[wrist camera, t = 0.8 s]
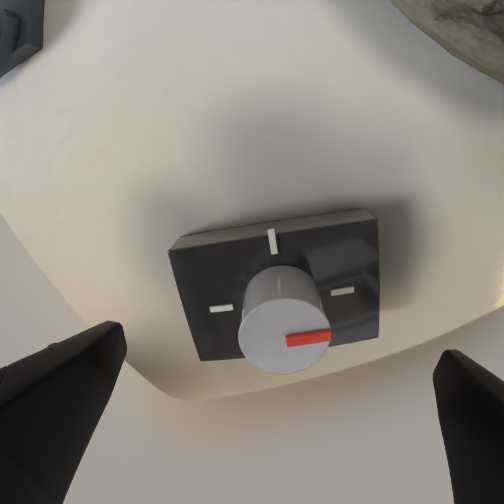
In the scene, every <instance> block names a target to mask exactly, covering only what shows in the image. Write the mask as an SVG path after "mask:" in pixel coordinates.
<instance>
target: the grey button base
mask: <svg viewBox="0 0 504 504" xmlns="http://www.w3.org/2000/svg"><path fill="white" fill-rule="evenodd" d="M43 10H44V0H0V77H2V76H3V75H4V74H6V73H7V72H8V71H10V70H11V69H13V68H14V67H15V66H17V65H18V64H20V63H21V62H22V61H24V60H25V59H27V58H28V57H30V56H31V55H33V54H34V53H36V52H37V51H39V50H41V49H42V30H43Z"/></svg>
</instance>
